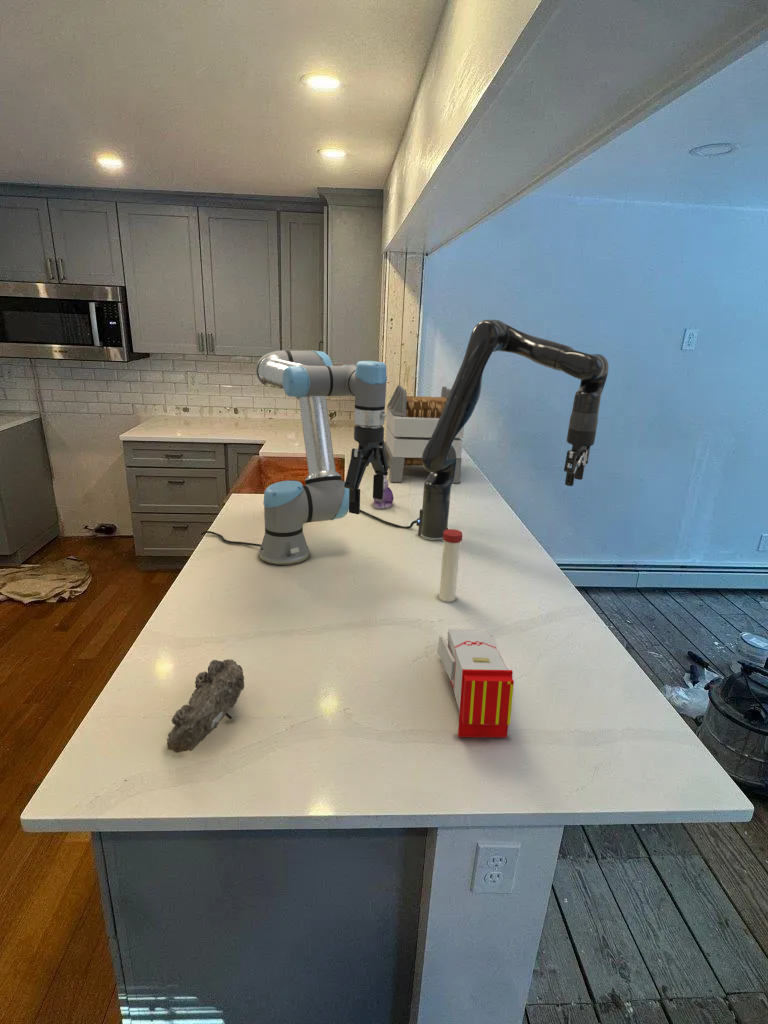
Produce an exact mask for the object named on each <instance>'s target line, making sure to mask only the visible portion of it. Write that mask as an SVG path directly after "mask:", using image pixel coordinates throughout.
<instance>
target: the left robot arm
mask: <svg viewBox="0 0 768 1024" xmlns="http://www.w3.org/2000/svg"><path fill="white" fill-rule="evenodd" d="M255 374H256V377H257V379H258V380H259V382H260V383H261V384H262V385H264V386H265V387H268V388H269V389H282V390H283V391H284V392H285V393H284V394H285V395H286V396H287V397H290V398H295V399H297V400H298V402H299V403H298V404H299V411H300V418H301V426H302V433H303V441H304V448H305V456H306V465H307V471H308V474H307V476H306V478H305V479H304V485H303V483H302V482H301V481H299V480H295V479H294V480H281V481H277V482H274V483H272V484H269V486H267V487H266V488H265V489H264V492H263V507H264V508H263V514H264V516H263V517H264V518H263V519H264V535H263V538H262V541H261V543H253V542H247V541H246V542H245V541H235V540H228V539H225V538H224V536H223V535H222V534H219V533H217V532H215V531H211V530H205V531H202V532H201V533H200V535H201V536H203V535H205V534H211V535H214V536H217V537H219V538H220V539H221V540H222V541H223V542H225V543H228V544H233V545H245V546H253V547H259V558H260V560H261V561H263V562H264V563H267V564H270V565H273V566H275V565H276V566H291V565H297V564H300V563H302V562H304V561H305V560H307V559H308V558H309V556H310V548H309V546H308V543H307V541H306V537H305V534H304V524H309V523H316V522H317V523H318V522H324V521H326V522H327V521H334V520H339V519H343V518H345V516H347V514H348V513H350V514H354V515H360V513H361V512H360V510H361V488H360V485H361V482H362V480H363V478H364V474H365V472H366V468H367V467H369V465H370V464H371V466H372V469H373V471H374V474H373V479H372V480H373V481H372V499H374V498H375V499H380V500H382V499H383V484H384V476H383V475H385V476H386V477H387V476H388V474H389V467H388V465H387V460H386V454H385V449H384V442H385V427H384V426H383V425H384V424H385V419H386V413H385V411H386V395H387V381H388V377H387V364H386V363H385V362H382V361H376V360H359V361H357V363H355V364H353V363H352V364H351V363H348V364H343V365H333V361H332V360H331V357H330V355H328V354H327V353H326V352H324V351H322V350H314V349H310V350H284V349H283V350H282V349H281V350H274V351H271V352H268V353H265V354H264V355H263V356H261V358H260V359H259V360H258V361H257V363H256V366H255ZM349 396H350V397H354V414H353V415H354V416H353V417H354V419H353V423H354V424H355V426H354V427H353V439H354V441H355V442H357V443H358V447H357V448H352V449H351V454H350V460H349V465H348V468H347V473H346V476H345V481H344V480H343V478H342V475H341V474H340V473H339V472H338V471H336V463H335V456H334V447H333V441H332V433H331V425H330V419H329V410H328V404H327V397H349ZM386 471H387V472H386ZM376 474H377V475H376Z"/></svg>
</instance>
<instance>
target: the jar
mask: <svg viewBox="0 0 768 1024" xmlns="http://www.w3.org/2000/svg"><path fill="white" fill-rule="evenodd" d="M461 542H462V541H461ZM461 542H458V543H450V542H447V541H445V540H443V545H442V558H441V568H440V579H439V593H438V598H439V600H440V601H442V602H446V603H451V602H454V601H455V600H456V594H457V585H458V584H457V583H458V573H459V563H460V551H461Z"/></svg>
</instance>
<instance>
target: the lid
mask: <svg viewBox="0 0 768 1024" xmlns="http://www.w3.org/2000/svg"><path fill="white" fill-rule="evenodd" d="M444 540H445V541H447V542H450V543H458V542H462V541H463V532H462V531H461V530H458V529H454V528H448V529H447V530H445V531H444V533H443V540H442V541H444Z"/></svg>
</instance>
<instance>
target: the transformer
mask: <svg viewBox="0 0 768 1024" xmlns="http://www.w3.org/2000/svg"><path fill="white" fill-rule="evenodd" d="M450 391H451V388H447V386H442V387H441V392H440V393H441V394H440V396H415V395H414V396H413V395H412V396H411V395H407V394H408V393H407V390H406V389H404V388H403V387H402V385H399V384H398V385H397V386H396V388H395V390H394V392H393V394H392V395H391V398H390V400H389V402H388V404H387V405H386V413H385V414H386V417H385V423H386V428H385V437H384V449H385V454H386V460H387V465H388V468H389V475H388V476H389V477H388V478H389V480H390V482H391V483H402V482H403V475H404V469H405V466H406V467H407V466H411V467H412V466H413V467H415V466H416V467H417V466H418V467H424V466H423V464H422V454H423V451H424V449H425V447H426V445H427V444H428V442H429V440H430V438H431V436H432V434H433V432H434V430H435V428H436V426H437V423H438V421H439V418H440V416H441V413H442V411H443V408H444V406H445V403H446V400H447V398H448V395H449V393H450ZM464 429H465V425H464V426H463V428H462V429H461V430H460V431H459V433H458V434H457V435H456V437H455V438H454V440H453V442H452V444H451V445H452V446H453V447H454V449H455V451H456V468H455V476H454V481H453V483H452V484H455V483H456V484H459V483H461V472H462V461H463V460H462V453H463V442H464V441H463V440H462V439H463V438H464V431H465V430H464Z"/></svg>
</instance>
